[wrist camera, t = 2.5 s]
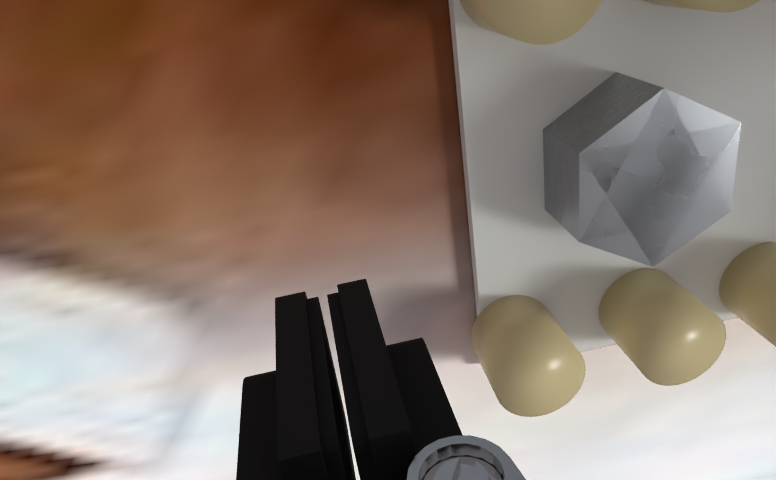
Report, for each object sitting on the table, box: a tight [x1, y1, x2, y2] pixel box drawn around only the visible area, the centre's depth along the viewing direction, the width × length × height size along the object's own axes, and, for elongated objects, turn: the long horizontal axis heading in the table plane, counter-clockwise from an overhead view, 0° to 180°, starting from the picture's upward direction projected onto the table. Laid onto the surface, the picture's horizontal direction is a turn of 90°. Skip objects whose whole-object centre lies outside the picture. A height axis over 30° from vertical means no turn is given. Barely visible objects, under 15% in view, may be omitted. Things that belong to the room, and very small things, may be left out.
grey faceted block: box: [543, 72, 741, 267], centre depth 17 cm, size 4×5×2 cm
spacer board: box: [448, 0, 776, 417], centre depth 17 cm, size 17×14×3 cm
